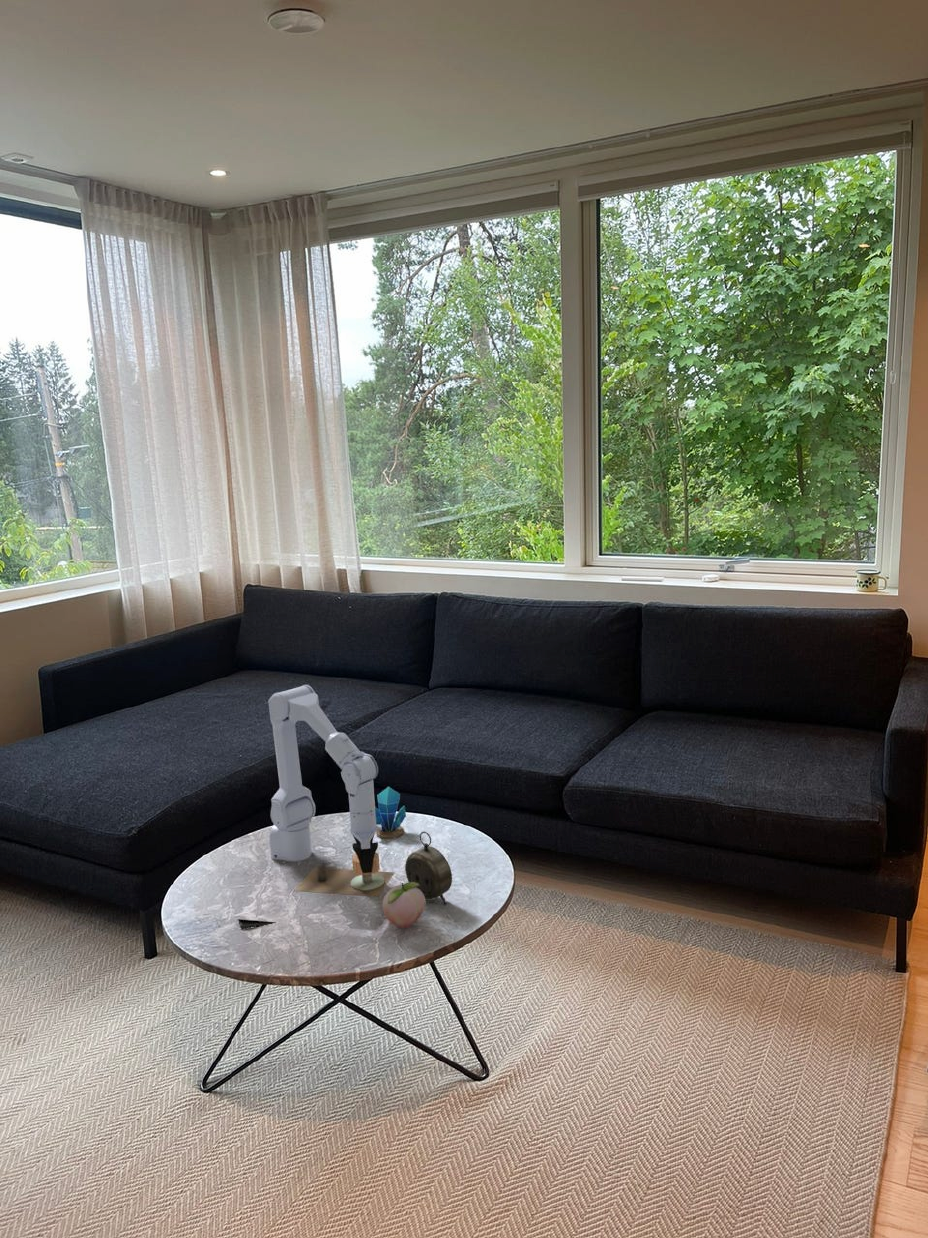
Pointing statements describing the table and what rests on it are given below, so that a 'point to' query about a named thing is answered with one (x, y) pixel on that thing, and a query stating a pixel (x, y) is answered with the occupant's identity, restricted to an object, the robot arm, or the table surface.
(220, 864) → the table surface
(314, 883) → the stand board
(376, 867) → the ring
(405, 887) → the decorative fruit
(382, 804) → the gemstone
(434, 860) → the alarm clock
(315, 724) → the robot arm
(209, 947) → the table surface
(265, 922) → the black wedge
